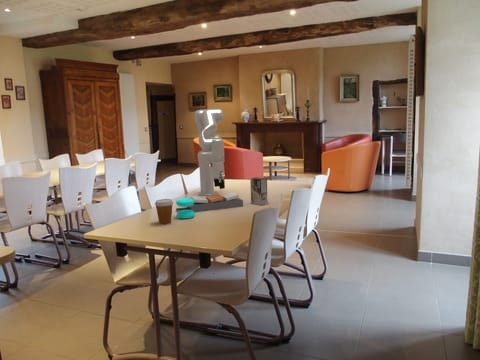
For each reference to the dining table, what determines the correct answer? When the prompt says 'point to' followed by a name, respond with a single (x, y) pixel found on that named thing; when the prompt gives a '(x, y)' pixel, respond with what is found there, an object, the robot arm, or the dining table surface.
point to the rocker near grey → (199, 199)
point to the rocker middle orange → (214, 197)
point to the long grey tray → (213, 205)
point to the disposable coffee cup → (164, 210)
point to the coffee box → (259, 191)
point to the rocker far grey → (230, 196)
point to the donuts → (185, 203)
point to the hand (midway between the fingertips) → (219, 187)
